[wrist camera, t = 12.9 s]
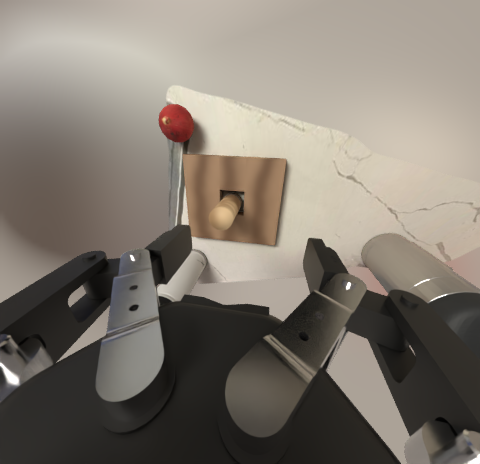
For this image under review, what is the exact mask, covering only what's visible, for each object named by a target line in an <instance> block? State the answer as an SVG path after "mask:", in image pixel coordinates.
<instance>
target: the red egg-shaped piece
mask: <svg viewBox="0 0 480 464" xmlns="http://www.w3.org/2000/svg"><path fill="white" fill-rule="evenodd" d="M159 126H160V128H161V130H162V132H163V133H164V135H165V136H166V137H167V138H168V139H170V140H172V141H174V142H185V141H186V140H188V139H189V138H190V137H191V135H192V134H193V129H194V123H193V119H192V117H191V114H190V113H189V112H188V111H187V110H186V109H185V108H184V107H182V106H180V105H178V104H171V105H168V106H166V107H164V108H163V109H162V111H161V112H160V115H159Z"/></svg>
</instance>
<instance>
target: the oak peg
mask: <svg viewBox="0 0 480 464" xmlns="http://www.w3.org/2000/svg"><path fill="white" fill-rule="evenodd" d="M241 205H242V199H241V197H240V196H239V195H238V194H237V193H229V194H227V195H225V196H224V198H223V199H222V200H221V201H220V202H219V203H218V204H217V206H216V207H215V208H214V209H213V210H212V211H211V212H210V214H209V222H210V224H211V225H212V227H214V228H215V229H217V230H227V229H228V228H230V226H231V225H232V223H233V221H234V219H235V217H236V215H237V213H238V211H239V210H240V208H241Z"/></svg>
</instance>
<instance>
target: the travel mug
mask: <svg viewBox="0 0 480 464" xmlns="http://www.w3.org/2000/svg"><path fill="white" fill-rule="evenodd" d="M206 264H207V259H206V256H205V255H204V254H203V253H202V252H201V251H199V250H195V249H192V251H191V253H190V255H189V256H188V257H187V259H186V260H185V261H184V263H183V264H182V265H181V267H180V268H179V269H178V271H177V272H176V273H175V274H174V276H173V277H172V278H171V280H170V281H169V282H168V284H167V285H164V284H161V285H160V286H159V287H158V288H157V292H158V298H159V303H160V306H161V305H164V304H167V303H170V302H175V301H181V299H182V298H183V296H184V294H185V295H190V293H191V291H192V289H193V287H194V285H195V284H196V282H197V280H198V278H199V277H200V275H201V273H202V271H203V269H204V268H205V266H206Z"/></svg>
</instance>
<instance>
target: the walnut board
mask: <svg viewBox="0 0 480 464" xmlns="http://www.w3.org/2000/svg"><path fill="white" fill-rule="evenodd" d="M183 164H184V175H185V186H186V197H187V208H188V219H189V226H190V228H191V236H193V237H202V238H211V239H220V240H229V241H239V242H248V243H257V244H266V245H275V239H276V232H277V225H278V218H279V211H280V203H281V196H282V189H283V182H284V174H285V167H286V159H280V158H260V157H240V156H219V155H199V154H183ZM223 190H229V191H243V192H245V195H244V212H239V211H238V213H237V215H236V217H235V219H234V221H233V223H232V225H231V226H230V228H228V229H227V230H217V229H215V228H214V227H212V225H211V224H210V222H209V214H210V212H211V211H212V210H213V209H214V208H215V207H216V206H217V204H218V203H219V202H220V201H221V200H222V199H223Z"/></svg>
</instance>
